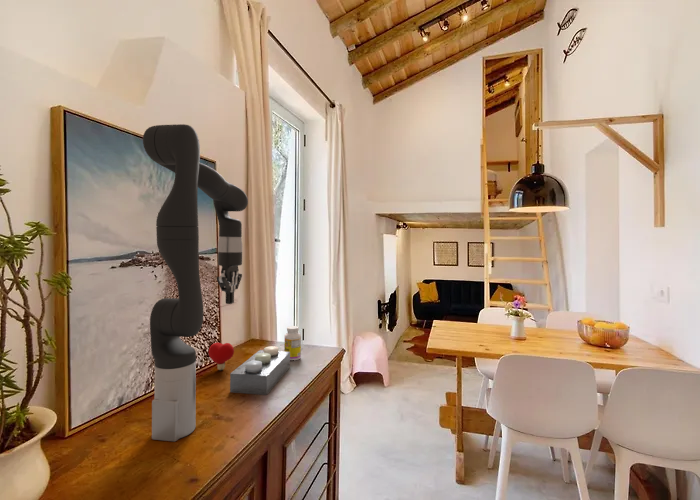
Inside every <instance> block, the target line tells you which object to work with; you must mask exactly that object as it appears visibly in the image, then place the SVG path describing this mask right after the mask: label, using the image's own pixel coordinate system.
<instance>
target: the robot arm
mask: <svg viewBox="0 0 700 500" xmlns="http://www.w3.org/2000/svg"><path fill="white" fill-rule="evenodd" d="M142 145H143V148H144V151H145V153H146V154H147V156H148V157H149V158H150V159H151V160H152V161H153V162H154V163H156V164H158V165H160V166H161V167H164V168H166V169H167V170H169V171H171V172H173V173H174V179H173V180H174V181H173V185H172V188H171V190H170V192H169V193H168V196H167V197H166V199H165V200H164V202H163V203H162V205H161V207H160V209H159V211H158V214H157V216H156V223H155V225H156V226H155V229H156V245H157V248H158V252H159V255H161V257H162V259H163V260H164V262H165V264H166V265H167V267H168V269H169V270H170V271H171V273H172V275H173V277H174V279H175V282H176V286H177V292H178V293H177V294H178V298H174V297H172V298H171V297H166V298H165V297H163V298H161V299H159V300H158V301H156V302H155V304H154V305H153V307H152V309H151V312H150V316H149V317H150V319H149V331H150V332H149V333H150V350H151V355H152V357H153V359H154V399H152V400H151V440H155V441H156V440H158V441H165V442H167V441H168V442H176V441H178V440H179V439H182V438H185V437H187V436H188V435H190V434H191V433H193V432H194V430H195V429H196V422H197V421H196V419H197V417H196V415H197V414H196V413H197V412H196V411H197V410H196V401H197V398H196V397H197V396H196V395H197V394H196V392H197V390H196V387H197V383H196V382H197V377H196V376H197V375H196V374H197V372H196V371H197V368H196V367H197V352H196V349H195V348H194V347H193V346H191V345H189V344H188V343H185V341H184V340H182V339H181V337H183V338H190V337H192V338H193V337H195V336H196V335H197V334H199V332H200V331H201V329H202V325H203V322H204V303H203V294H202V286H201V278H200V261H199V260H200V259H199V255H200V254H199V250H200V249H199V247H200V245H199V244H200V242H199V241H200V239H199V238H200V237H199V236H200V235H199V234H200V233H199V213H198V190H201V191H202V192H203V193H204V194H205V195H206V196H208V197H209V198H210V199H212V202H213V205H214V206H213V207H214V210H215V213H216V217H217V221H218V230H219V231H218V241H217V265H218V266H220V267H221V269H220V270H221V271H220V276H217V277H216V281H217V283H218V285H219V288H220V290H221V292H224V293H225V304H226V305H232V304H234V303H235V292H236V290H238V288H239V286H240V283H241V281H242V277H243V274H242V273H239V267H240V266H242V265H243V240H242V239H243V238H242V236H243V233H242V230H243V228H242V221H241V220H240V219H238V218H237V219H236V218H232V217H231V216H230V214H229V213H230V212H242V211H244V210H245V209H246V208H247V207H248V204H249V199H248V196H247V194H246V193H245V191H244V190H243V189H241V188H240V187H238V186H237V185H235V184H233V183H231V182H228V181H227V180H226V179H225V177H223V175H222V174H220V173H219V172H218V171H217V170H216V169H214V168H212V167H211V166H208V165H206V164H204V163H203V162H200V161H201V160H200V159H201V145H200V139H199V136H198V133H197V132H196V130H195V129H194V127H192V126H191V125H189V124H184V123H183V124H178V123H177V124H157V125H152V126H148V128H147V129H145V130H144V133H143V135H142Z"/></svg>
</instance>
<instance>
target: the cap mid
mask: <svg viewBox="0 0 700 500" xmlns="http://www.w3.org/2000/svg"><path fill="white" fill-rule="evenodd" d="M255 361H261V362H262V364H268V363H269V362H270V361H271V354H269V353H260V354H257V355H255Z"/></svg>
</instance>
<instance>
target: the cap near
mask: <svg viewBox="0 0 700 500" xmlns="http://www.w3.org/2000/svg"><path fill="white" fill-rule="evenodd" d="M261 370H262V362H261V361H249V362H247V363H245V371H246V372H248V373H258V372H259V371H261Z"/></svg>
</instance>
